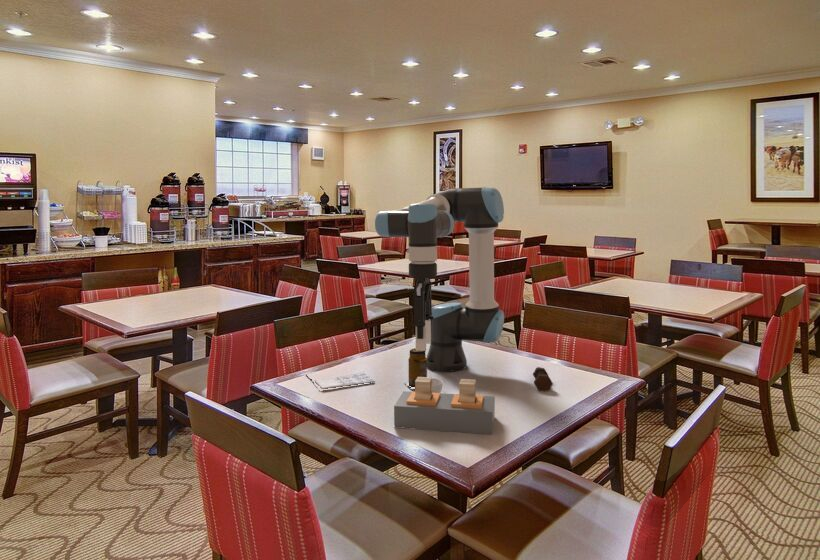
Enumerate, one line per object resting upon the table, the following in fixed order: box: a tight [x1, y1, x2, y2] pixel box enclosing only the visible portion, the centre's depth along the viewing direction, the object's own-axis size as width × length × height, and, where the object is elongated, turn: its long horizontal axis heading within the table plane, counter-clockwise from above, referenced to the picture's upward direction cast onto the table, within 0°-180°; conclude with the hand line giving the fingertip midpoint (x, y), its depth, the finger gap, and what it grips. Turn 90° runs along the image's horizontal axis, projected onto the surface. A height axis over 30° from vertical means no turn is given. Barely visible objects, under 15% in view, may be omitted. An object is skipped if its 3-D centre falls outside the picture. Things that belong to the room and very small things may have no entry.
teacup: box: [432, 377, 447, 394], centre depth 172 cm, size 10×10×5 cm
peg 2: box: [458, 378, 477, 403], centre depth 149 cm, size 4×4×7 cm
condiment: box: [408, 347, 428, 391], centre depth 181 cm, size 7×8×12 cm
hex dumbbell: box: [532, 366, 553, 392], centre depth 183 cm, size 6×5×15 cm
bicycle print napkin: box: [314, 371, 376, 389], centre depth 190 cm, size 19×20×2 cm
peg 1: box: [414, 376, 433, 400], centre depth 151 cm, size 4×4×7 cm
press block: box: [393, 390, 496, 435], centre depth 151 cm, size 12×26×7 cm, turn 79°
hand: (423, 346), depth 150 cm, fingers open, 7 cm apart
